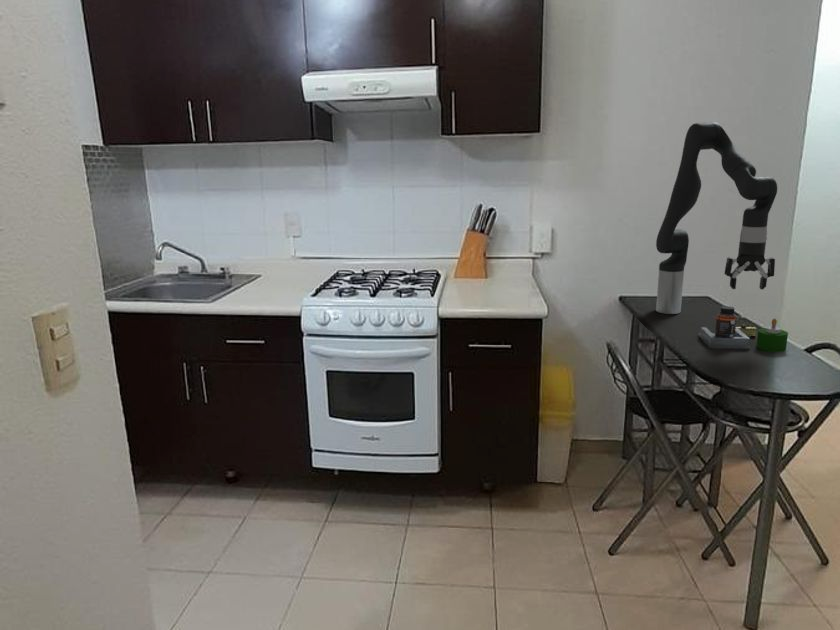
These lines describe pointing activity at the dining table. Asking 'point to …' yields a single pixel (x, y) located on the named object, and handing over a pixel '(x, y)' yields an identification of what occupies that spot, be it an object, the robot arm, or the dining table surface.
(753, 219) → the robot arm
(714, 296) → the dining table surface
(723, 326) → the supplement bottle
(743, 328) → the bar
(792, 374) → the dining table surface
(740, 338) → the dock
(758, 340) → the candle
